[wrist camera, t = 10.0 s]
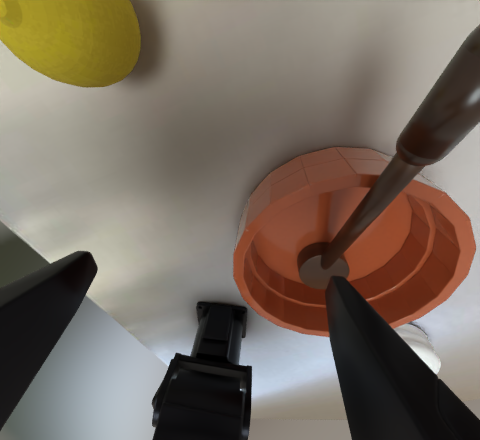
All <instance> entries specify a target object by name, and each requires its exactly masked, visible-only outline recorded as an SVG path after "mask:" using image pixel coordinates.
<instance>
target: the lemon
mask: <svg viewBox="0 0 480 440" xmlns="http://www.w3.org/2000/svg"><path fill="white" fill-rule="evenodd" d="M0 40H1V41H2V42H3V43H4V44H5V45H6V46H7V47H8V48H9V49H10V50H11V52H12V53H13V54H14V55H15V56H17V57H18V58H19V59H20V60H22V61H23V62H24V63H26V64H27V65H28V66H30V67H31V68H32V69H34V70H36V71H38V72H40V73H42V74H43V75H45V76H47V77H49V78H51V79H54V80H56V81H59V82H63V83H67V84H71V85H75V86H80V87H105V86H109V85H112V84H114V83H117V82H119V81H121V80H123V79H124V78H125V77H126V76H127V75H128V74H129V73H130V72H131V71H132V70H133V68H134V66H135V64H136V63H137V61H138V57H139V53H140V49H141V35H140V29H139V23H138V19H137V17H136V14H135V11H134V8H133V6H132V4H131V2H130V0H0Z"/></svg>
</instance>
